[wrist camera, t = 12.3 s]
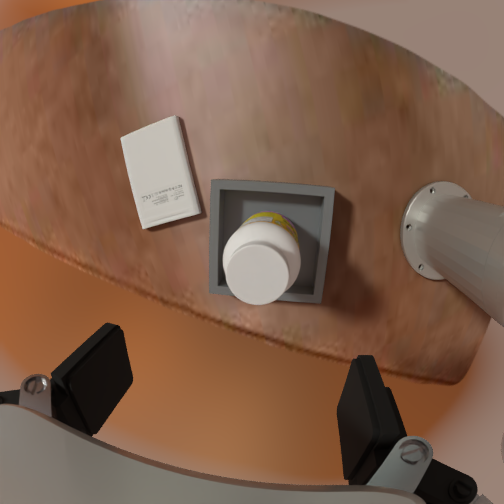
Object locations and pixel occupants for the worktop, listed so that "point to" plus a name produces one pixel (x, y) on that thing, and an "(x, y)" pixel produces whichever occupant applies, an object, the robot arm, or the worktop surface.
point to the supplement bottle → (262, 258)
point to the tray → (281, 201)
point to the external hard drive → (160, 173)
